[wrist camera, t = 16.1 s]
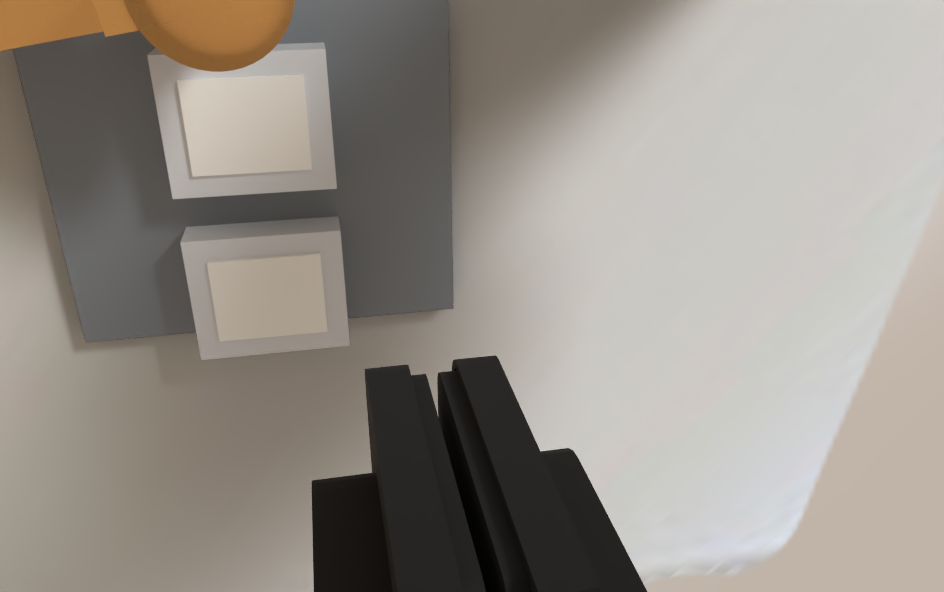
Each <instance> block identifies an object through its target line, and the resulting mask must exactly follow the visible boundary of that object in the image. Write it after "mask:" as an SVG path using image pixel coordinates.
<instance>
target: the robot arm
mask: <svg viewBox="0 0 944 592" xmlns="http://www.w3.org/2000/svg"><path fill="white" fill-rule="evenodd" d="M365 382H366V396H367V409H368V422H369V436H370V449H371V463H372V473H368V474H360V475H352V476H345V477H337V478H329V479H321V480H313V481H312V520H313V567H314V592H647V590H646V588H645V587H644V585H643V583H642V581H641V579H640V577H639V575H638V573H637V571H636V569H635V567H634V565H633V563H632V561H631V559H630V558H629V556H628V554H627V552H626V550H625V548H624V546H623V544H622V542H621V540H620V538H619V536H618V534H617V532H616V530H615V529H614V527H613V525H612V523H611V521H610V519H609V517H608V515H607V513H606V511H605V509H604V507H603V505H602V503H601V501H600V500H599V498H598V496H597V494H596V492H595V490H594V488H593V486H592V484H591V482H590V480H589V478H588V476H587V474H586V473H585V471H584V469H583V467H582V465H581V463H580V461H579V459H578V457H577V456H576V454H575V453H574V451H573V450H571V449H569V448H566V449H558V450H550V451H542V452H540V450H539V448H538V445H537V443H536V441H535V439H534V437H533V434H532V432H531V430H530V428H529V426H528V423H527V421H526V419H525V417H524V414H523V412H522V410H521V408H520V406H519V403H518V401H517V399H516V397H515V395H514V392H513V390H512V388H511V386H510V384H509V381H508V379H507V377H506V375H505V373H504V370H503V368H502V366H501V364H500V361H499V359H498V358H497V356H486V357H476V358H466V359H457V360H453V364H452V371H450V372H440V373H438V415H437V412H436V408H435V404H434V401H433V397H432V394H431V390H430V386H429V383H428V379H427V376H426V374H421V375H412V376H411V374H410V370H409V366H408V365H399V366H389V367H380V368H370V369H365ZM438 418H439V419H438Z"/></svg>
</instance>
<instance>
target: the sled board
mask: <svg viewBox="0 0 944 592" xmlns="http://www.w3.org/2000/svg"><path fill="white" fill-rule="evenodd" d="M13 51H14V55H15V59H16V63H17V67H18V71H19V76H20V80H21V84H22V88H23V92H24V96H25V100H26V104H27V108H28V112H29V116H30V120H31V124H32V128H33V132H34V136H35V140H36V144H37V148H38V152H39V156H40V160H41V165H42V169H43V173H44V177H45V181H46V185H47V189H48V193H49V197H50V201H51V205H52V209H53V213H54V217H55V221H56V225H57V229H58V233H59V237H60V241H61V245H62V249H63V254H64V258H65V262H66V266H67V270H68V274H69V278H70V282H71V286H72V290H73V294H74V298H75V302H76V306H77V310H78V314H79V318H80V322H81V326H82V330H83V334H84V339H85V343H86V342H97V341H108V340H118V339H129V338H140V337H151V336H162V335H172V334H183V333H194V332H196V334H197V340H198V345H199V351H200V356H201V360H210V359H220V358H230V357H240V356H250V355H261V354H271V353H281V352H291V351H301V350H311V349H322V348H332V347H342V346H350V341H349V328H348V318H356V317H367V316H378V315H389V314H400V313H410V312H421V311H432V310H443V309H453V258H452V201H451V145H450V88H449V31H448V0H295V4H294V9H293V14H292V18H291V20H290V23H289V26H288V28H287V30H286V32H285V34H284V36H283V37H282V39H281V40H280V42H279V43H278V44H277V45H276V46H275V47H274V49H273V50H272V51H271V52H270V53H268V54H267V55H266V56H265V57H263V58H262V59H260V60H259V61H257V62H255V63H254V64H251V65H249V66H246V67H244V68H240V69H237V70H232V71H224V72H211V71H204V70H198V69H195V68H191V67H188V66H185V65H183V64H180V63H178V62H176V61H174V60H173V59H171V58H169V57H167V56H166V55H164V54H163V53H162V52H160V51H159V50H158V49H157V48H155V47H154V46H153V45H152V44H151V43H150V42H149V41H148V40H147V39H146V38H145V37H144V36H143V35H142V33H141V32H140V31H139V30H138V31H134V32H129V33H123V34H118V35H113V36H107V37H105V34H104V31H103V32H98V33H93V34H87V35H82V36H77V37H71V38H66V39H61V40H55V41H50V42H45V43H40V44H34V45H29V46H24V47H18V48H13Z"/></svg>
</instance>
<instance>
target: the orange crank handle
mask: <svg viewBox="0 0 944 592" xmlns="http://www.w3.org/2000/svg"><path fill="white" fill-rule="evenodd" d="M294 4H295V0H0V51H3V50H8V49H13V48H18V47H24V46H29V45H34V44H40V43H45V42H50V41H55V40H61V39H66V38H71V37H77V36H82V35H87V34H93V33H98V32H103V31H104V34H105V37H107V36H113V35H118V34H123V33H129V32H134V31H138V30H139V31H140V32H141V33H142V35H143V36H144V37H145V38H146V39H147V40H148V41H149V42H150V43H151V44H152V45H153V46H154V47H155V48H157V49H158V50H159V51H160V52H162V53H163V54H164V55H166V56H167V57H169V58H171V59H173V60H174V61H176V62H178V63H180V64H183V65H185V66H188V67H191V68H195V69H198V70H204V71H211V72H224V71H232V70H237V69H240V68H244V67H246V66H249V65H251V64H254V63H255V62H257V61H259V60H260V59H262V58H263V57H265V56H266V55H267V54H268V53H270V52H271V51H272V50H273V49H274V47H275V46H276V45H277V44H278V43H279V42H280V40H281V39H282V37H283V36H284V34H285V32H286V30H287V28H288V26H289V23H290V20H291V18H292V14H293V9H294Z"/></svg>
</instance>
